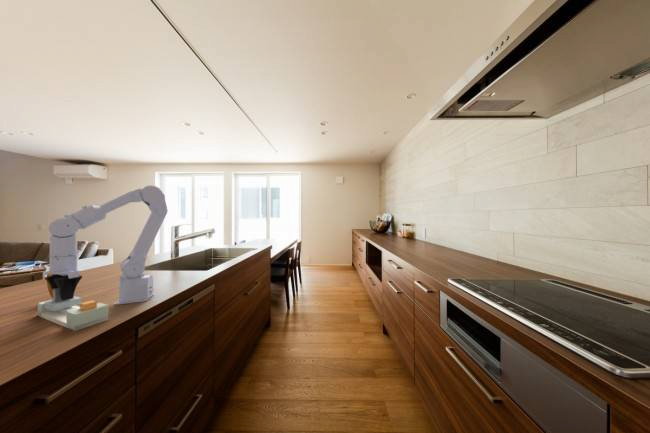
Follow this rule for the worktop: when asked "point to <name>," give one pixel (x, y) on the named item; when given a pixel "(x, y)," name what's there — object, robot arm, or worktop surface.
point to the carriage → (61, 301)
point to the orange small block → (88, 305)
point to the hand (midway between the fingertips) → (63, 297)
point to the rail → (75, 315)
